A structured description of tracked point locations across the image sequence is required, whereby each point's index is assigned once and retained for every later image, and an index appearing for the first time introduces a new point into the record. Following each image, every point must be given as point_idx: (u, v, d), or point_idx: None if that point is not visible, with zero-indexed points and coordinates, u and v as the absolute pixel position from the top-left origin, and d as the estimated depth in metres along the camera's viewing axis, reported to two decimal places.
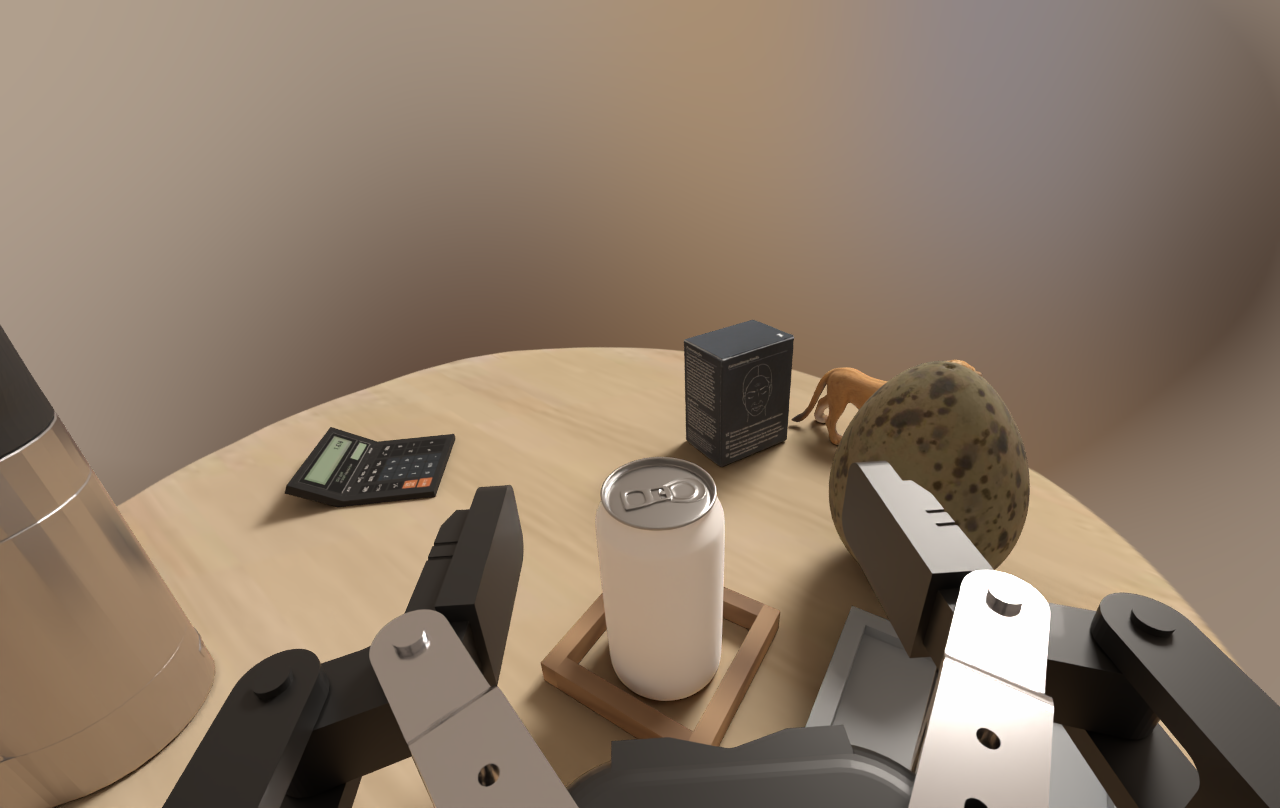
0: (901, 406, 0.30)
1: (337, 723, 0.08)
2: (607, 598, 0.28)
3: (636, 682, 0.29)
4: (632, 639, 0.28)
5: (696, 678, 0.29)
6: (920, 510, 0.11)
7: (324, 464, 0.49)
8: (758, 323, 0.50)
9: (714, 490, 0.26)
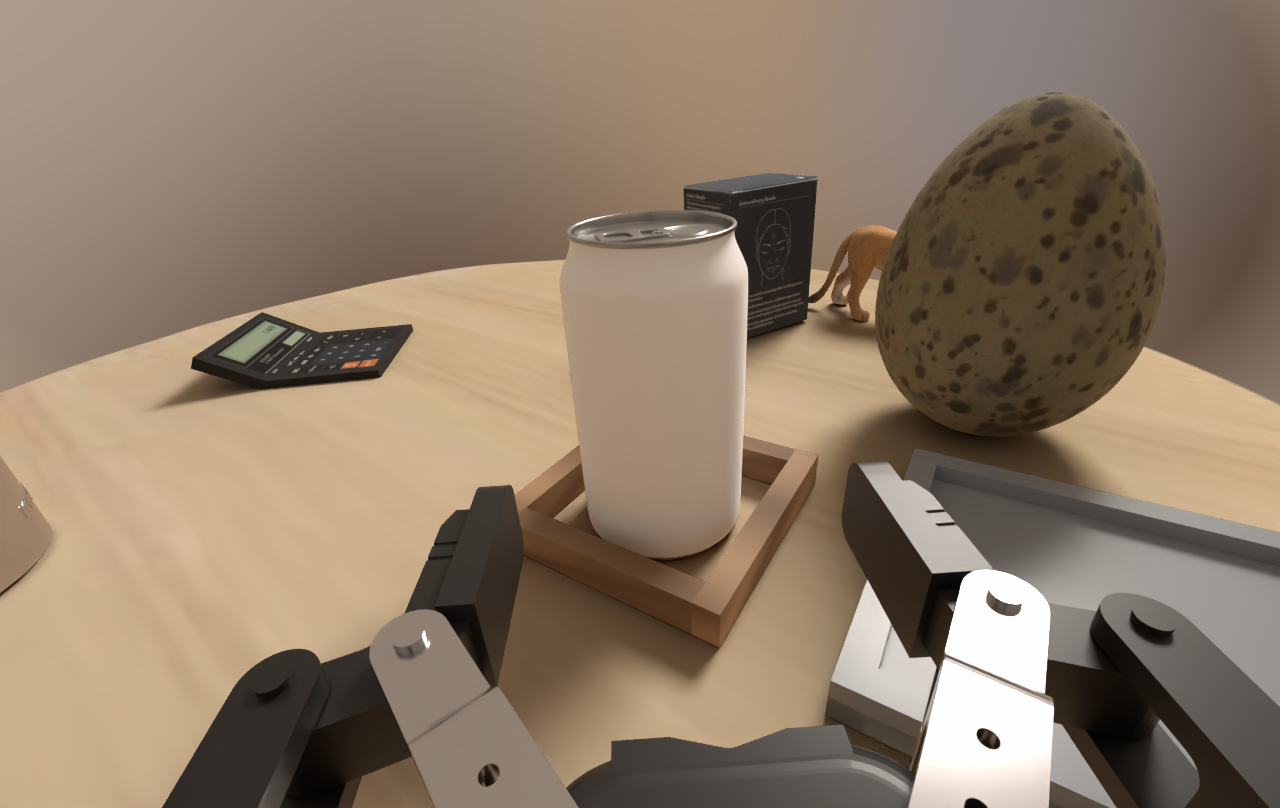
0: (988, 148, 0.22)
1: (337, 723, 0.08)
2: (579, 400, 0.19)
3: (623, 531, 0.21)
4: (616, 455, 0.19)
5: (707, 522, 0.20)
6: (920, 510, 0.11)
7: (247, 344, 0.40)
8: (772, 174, 0.41)
9: (733, 221, 0.18)
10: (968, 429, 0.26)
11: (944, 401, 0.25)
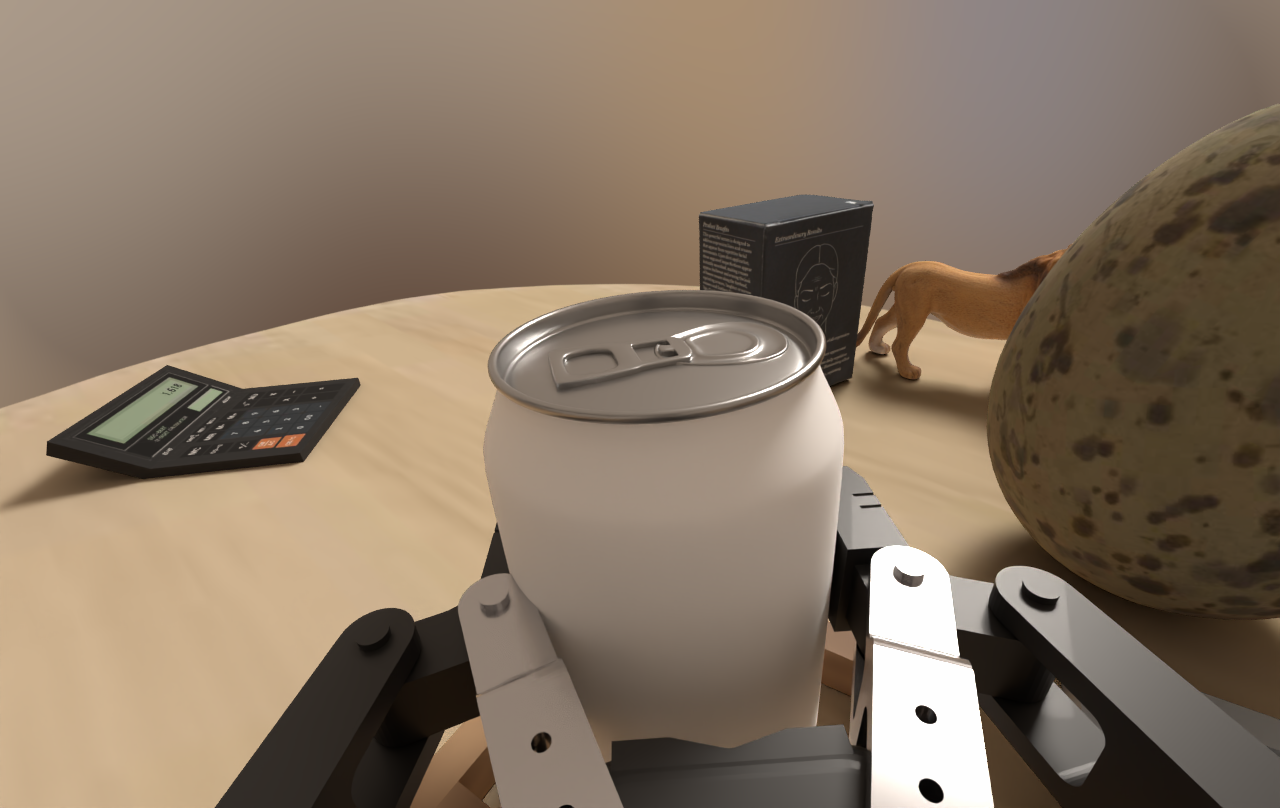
0: (1239, 187, 0.13)
1: (422, 687, 0.09)
2: None
3: None
4: None
5: None
6: (847, 492, 0.11)
7: (135, 414, 0.31)
8: (811, 195, 0.32)
9: (815, 329, 0.09)
10: (1146, 605, 0.17)
11: (1120, 573, 0.16)
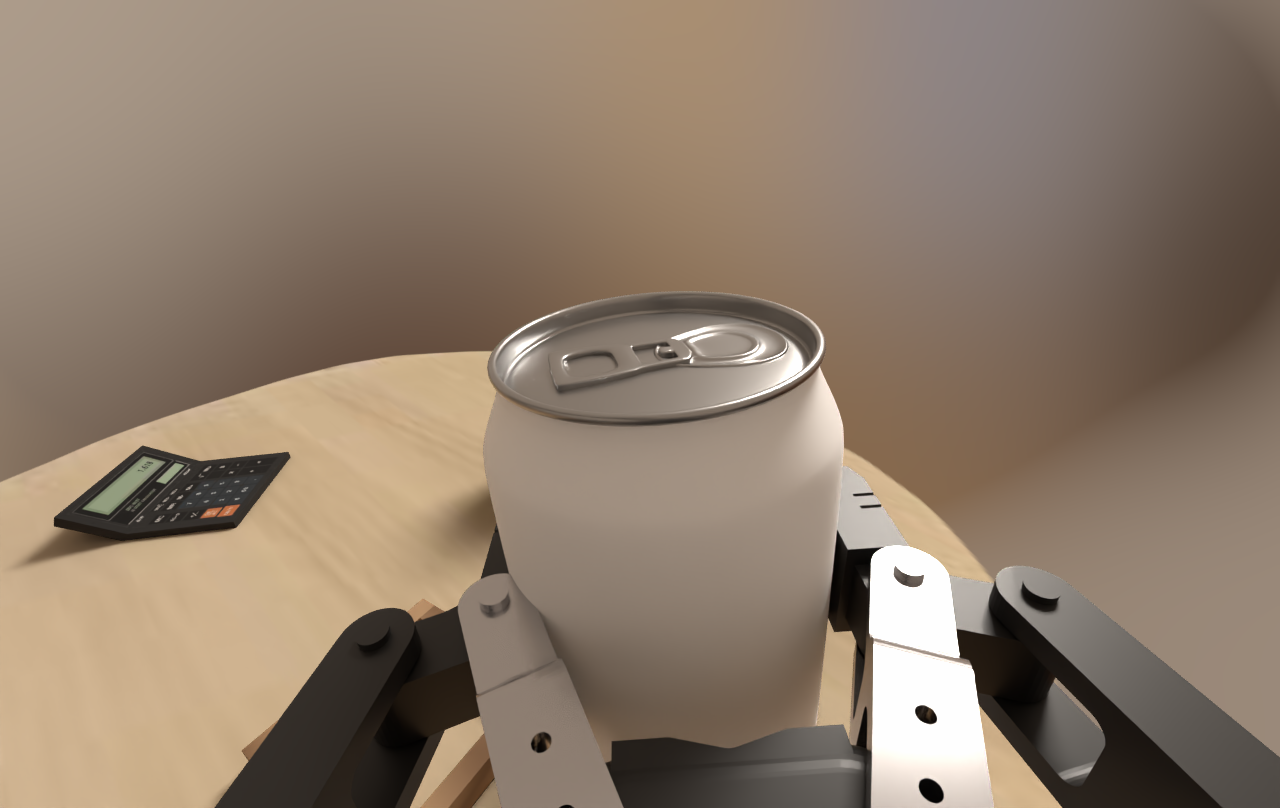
0: None
1: (422, 687, 0.09)
2: None
3: None
4: None
5: None
6: (847, 492, 0.11)
7: (117, 490, 0.43)
8: None
9: (815, 331, 0.09)
10: None
11: None
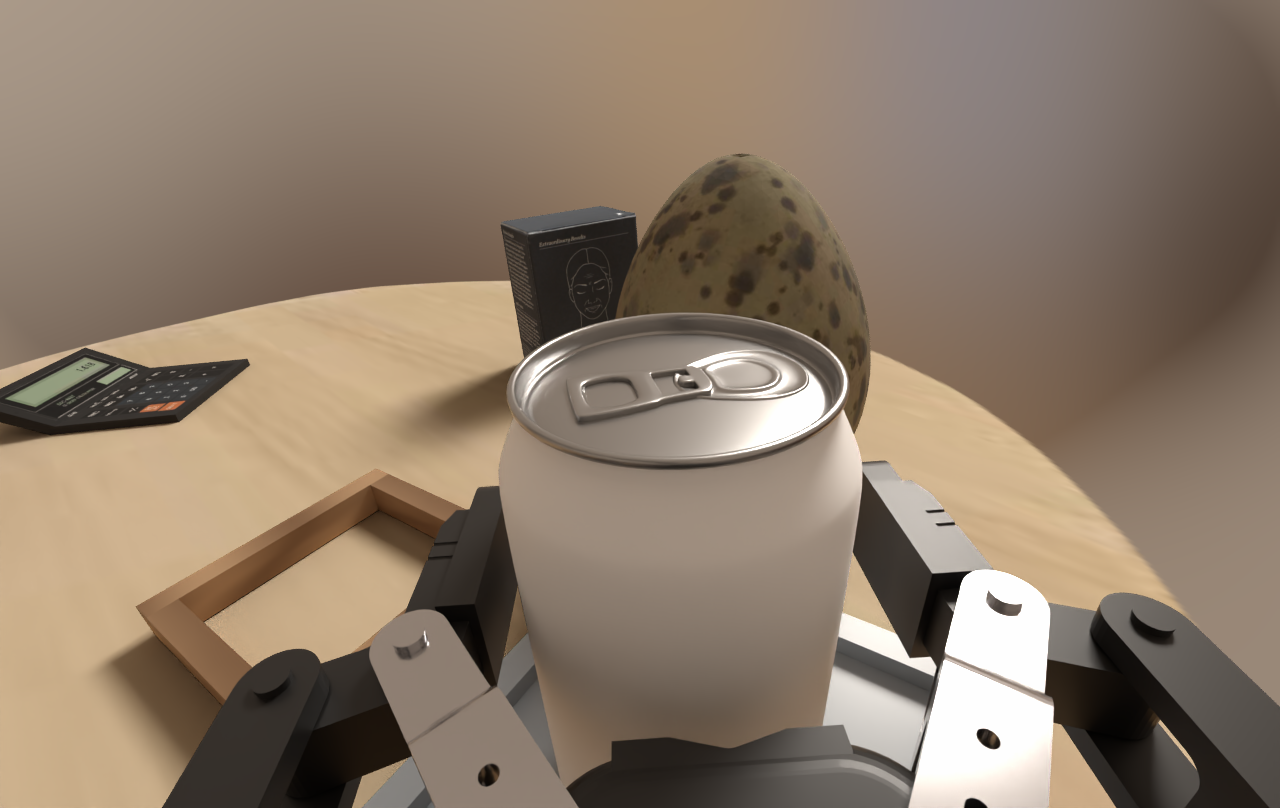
0: (667, 215, 0.20)
1: (337, 723, 0.08)
2: (539, 671, 0.11)
3: None
4: None
5: None
6: (920, 510, 0.11)
7: (49, 385, 0.38)
8: (602, 207, 0.40)
9: (837, 366, 0.09)
10: None
11: None
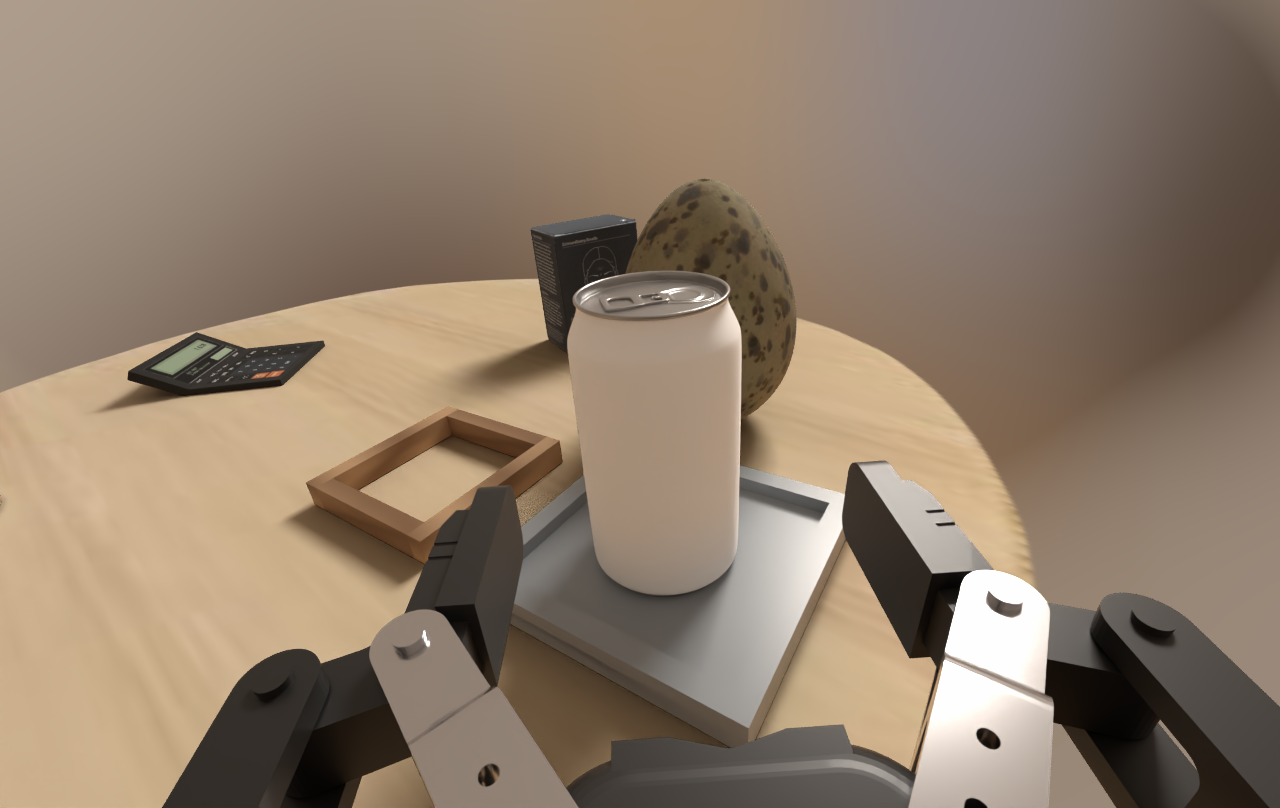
0: (655, 220, 0.30)
1: (337, 723, 0.08)
2: (586, 451, 0.21)
3: (627, 571, 0.22)
4: (620, 502, 0.21)
5: (706, 562, 0.22)
6: (920, 510, 0.11)
7: (178, 359, 0.49)
8: (610, 215, 0.50)
9: (727, 288, 0.19)
10: None
11: None
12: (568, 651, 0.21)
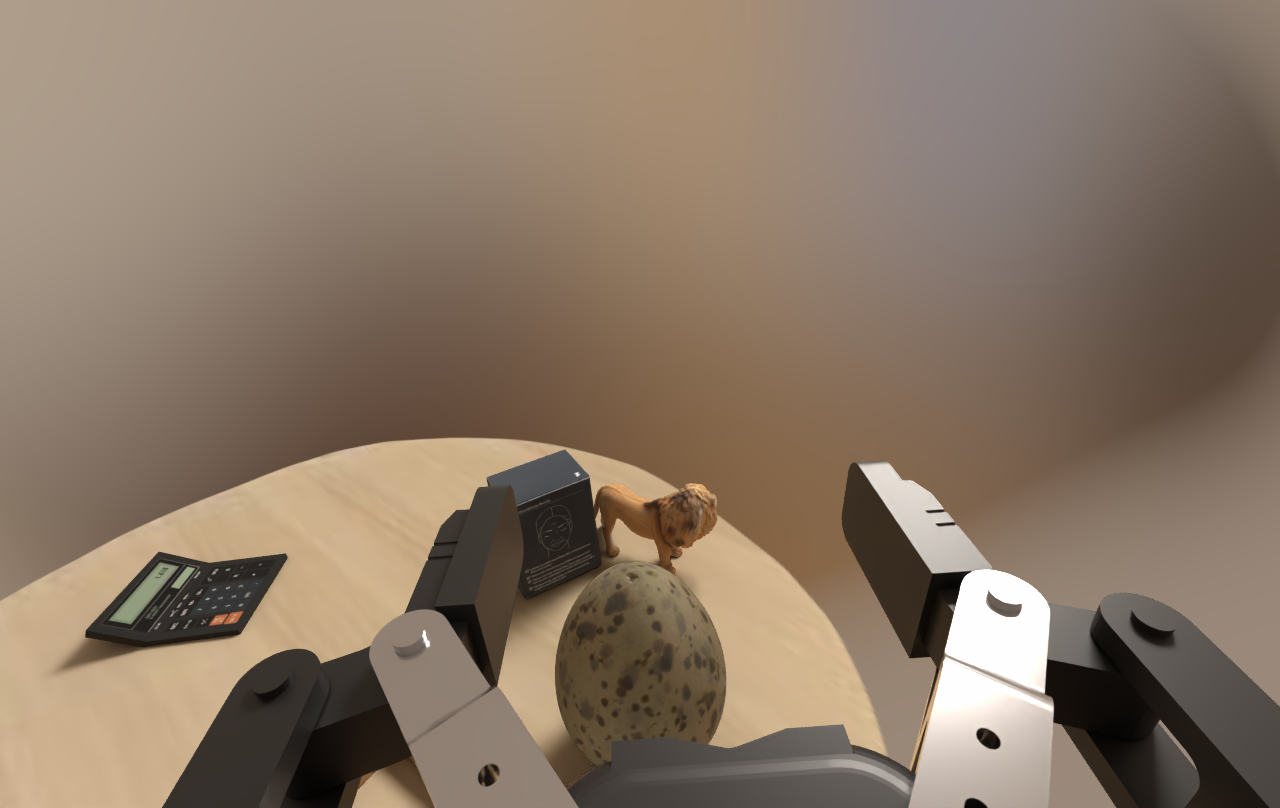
0: (585, 617, 0.31)
1: (337, 723, 0.08)
2: None
3: None
4: None
5: None
6: (920, 510, 0.11)
7: (137, 599, 0.50)
8: (566, 455, 0.51)
9: None
10: None
11: None
12: None
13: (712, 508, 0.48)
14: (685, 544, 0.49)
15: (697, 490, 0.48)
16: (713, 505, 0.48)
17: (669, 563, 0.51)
